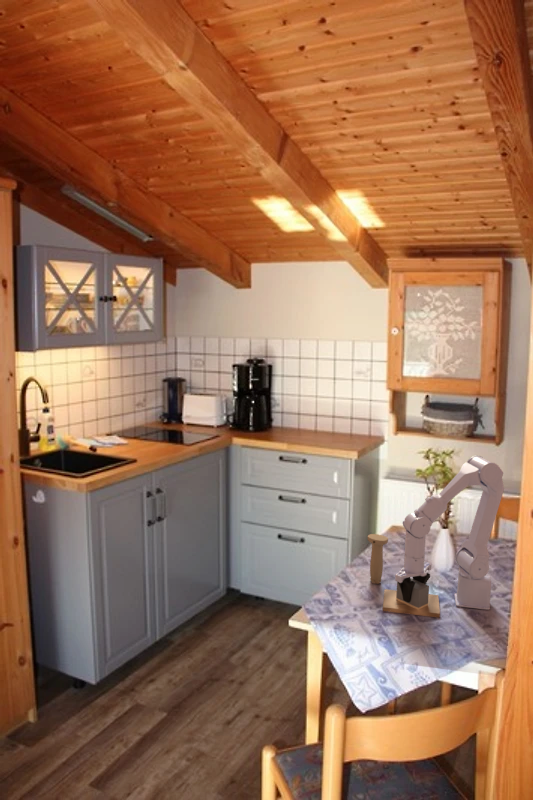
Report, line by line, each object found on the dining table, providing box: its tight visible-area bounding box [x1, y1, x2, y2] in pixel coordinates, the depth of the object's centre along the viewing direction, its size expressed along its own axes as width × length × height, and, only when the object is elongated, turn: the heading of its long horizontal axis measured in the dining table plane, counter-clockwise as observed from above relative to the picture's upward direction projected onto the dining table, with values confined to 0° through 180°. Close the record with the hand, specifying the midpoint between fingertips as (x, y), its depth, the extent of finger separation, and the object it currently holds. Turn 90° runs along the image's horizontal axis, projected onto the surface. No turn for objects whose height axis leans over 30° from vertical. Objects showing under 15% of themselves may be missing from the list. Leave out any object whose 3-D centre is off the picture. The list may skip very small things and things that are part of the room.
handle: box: [367, 533, 389, 585], centre depth 210 cm, size 5×6×15 cm
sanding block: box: [396, 577, 430, 610], centre depth 195 cm, size 8×5×6 cm, turn 40°
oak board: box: [382, 588, 441, 618], centre depth 196 cm, size 16×12×1 cm
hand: (412, 598), depth 195 cm, fingers closed on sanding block, 5 cm apart
